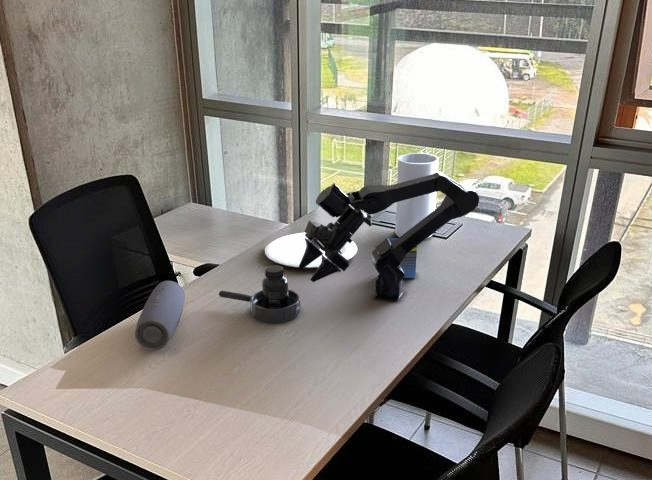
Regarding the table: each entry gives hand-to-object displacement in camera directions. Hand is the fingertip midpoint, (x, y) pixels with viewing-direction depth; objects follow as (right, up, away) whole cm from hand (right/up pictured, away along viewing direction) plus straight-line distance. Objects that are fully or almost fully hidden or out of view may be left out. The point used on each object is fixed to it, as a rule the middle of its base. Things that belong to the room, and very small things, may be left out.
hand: (305, 274), depth 190 cm
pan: (-8, -10, +3) cm, 13 cm away
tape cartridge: (+28, +2, +21) cm, 35 cm away
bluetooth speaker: (-36, -16, -5) cm, 40 cm away
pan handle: (-19, -6, +5) cm, 20 cm away
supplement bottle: (-8, -10, +2) cm, 13 cm away
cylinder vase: (+36, +20, +49) cm, 64 cm away
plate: (+2, +11, +37) cm, 39 cm away
